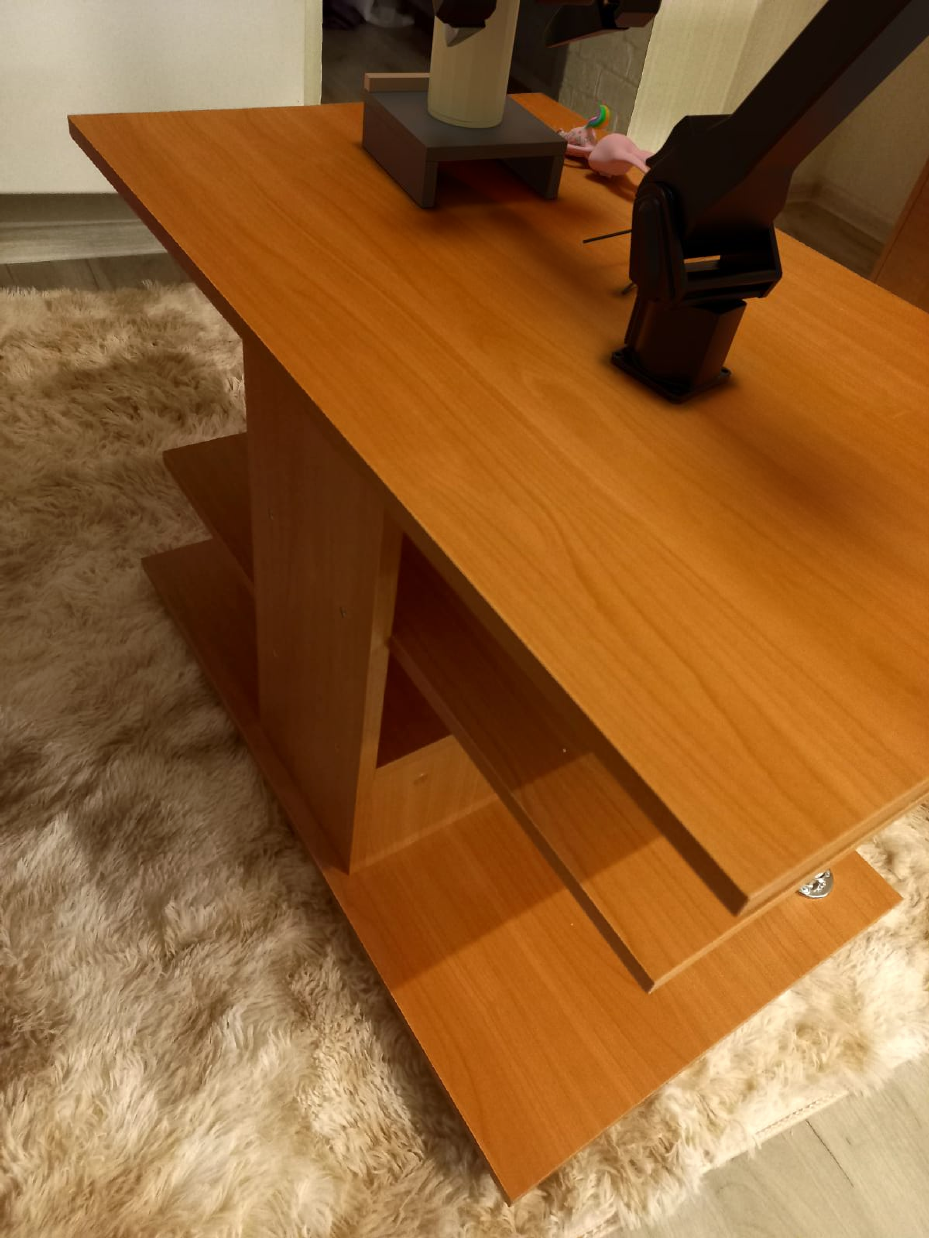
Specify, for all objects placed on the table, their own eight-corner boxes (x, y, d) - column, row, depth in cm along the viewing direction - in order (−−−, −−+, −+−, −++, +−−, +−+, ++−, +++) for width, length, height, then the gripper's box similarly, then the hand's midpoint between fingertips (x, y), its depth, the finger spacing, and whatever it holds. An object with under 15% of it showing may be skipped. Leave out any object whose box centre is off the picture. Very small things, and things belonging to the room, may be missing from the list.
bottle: (494, 134, 77) (522, -56, 67) (419, 118, 77) (436, -73, 67) (507, 110, 81) (534, -70, 71) (436, 95, 82) (453, -87, 72)
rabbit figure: (535, 161, 91) (626, 197, 81) (541, 95, 87) (637, 124, 77) (583, 157, 93) (677, 191, 84) (591, 93, 90) (690, 121, 80)
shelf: (557, 198, 82) (571, 126, 77) (421, 208, 76) (428, 131, 72) (489, 140, 89) (498, 72, 85) (361, 145, 84) (364, 73, 79)
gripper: (688, -213, 60) (572, -56, 74) (446, -251, 53) (369, -69, 67) (719, -44, 61) (599, 79, 76) (485, -58, 54) (402, 81, 68)
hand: (497, 41), depth 72 cm, fingers open, 9 cm apart
